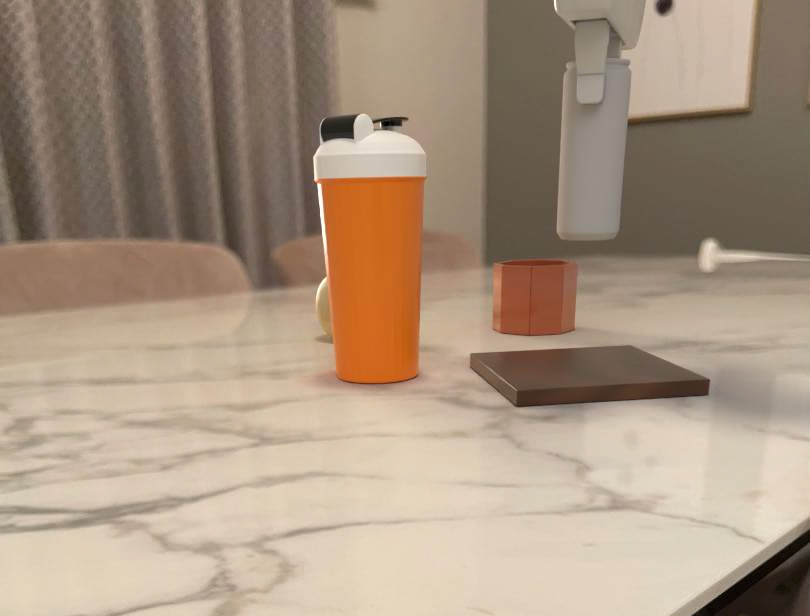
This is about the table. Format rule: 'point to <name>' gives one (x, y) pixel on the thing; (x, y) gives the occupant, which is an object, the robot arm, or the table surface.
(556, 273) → the crock
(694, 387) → the board
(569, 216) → the beverage can
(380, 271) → the shaker bottle
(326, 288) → the apple
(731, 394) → the table surface
